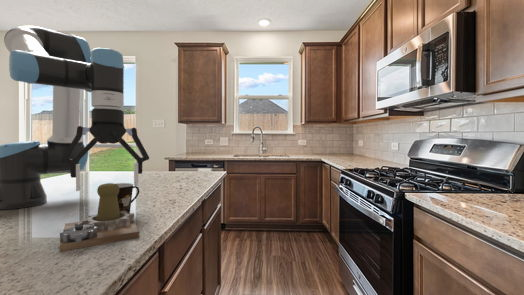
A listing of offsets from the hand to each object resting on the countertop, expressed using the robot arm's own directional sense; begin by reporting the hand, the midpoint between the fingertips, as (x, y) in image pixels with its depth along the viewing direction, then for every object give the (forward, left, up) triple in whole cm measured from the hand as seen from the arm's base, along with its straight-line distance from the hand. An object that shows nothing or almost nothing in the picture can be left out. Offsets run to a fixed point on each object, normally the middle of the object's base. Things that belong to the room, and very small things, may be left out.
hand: (108, 187), depth 72 cm
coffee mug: (-12, +5, -12) cm, 17 cm away
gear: (+8, -6, -10) cm, 14 cm away
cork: (0, 0, -10) cm, 10 cm away
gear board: (+2, -2, -11) cm, 12 cm away
